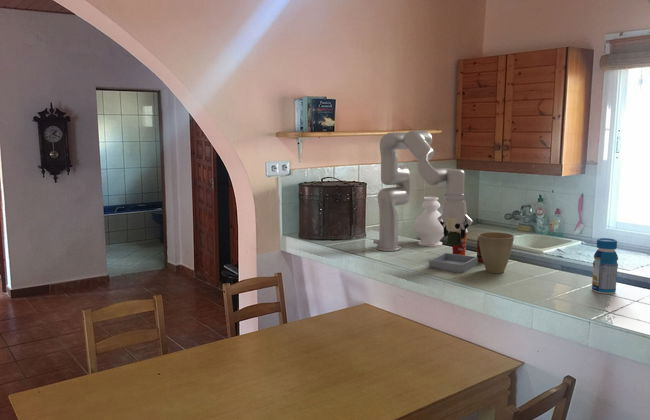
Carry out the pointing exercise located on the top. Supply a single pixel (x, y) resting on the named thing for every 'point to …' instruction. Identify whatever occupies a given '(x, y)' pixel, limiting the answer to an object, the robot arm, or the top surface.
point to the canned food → (479, 252)
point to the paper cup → (460, 246)
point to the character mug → (453, 231)
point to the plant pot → (495, 250)
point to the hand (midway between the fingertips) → (454, 236)
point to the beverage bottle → (605, 266)
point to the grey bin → (453, 262)
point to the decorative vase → (429, 223)
